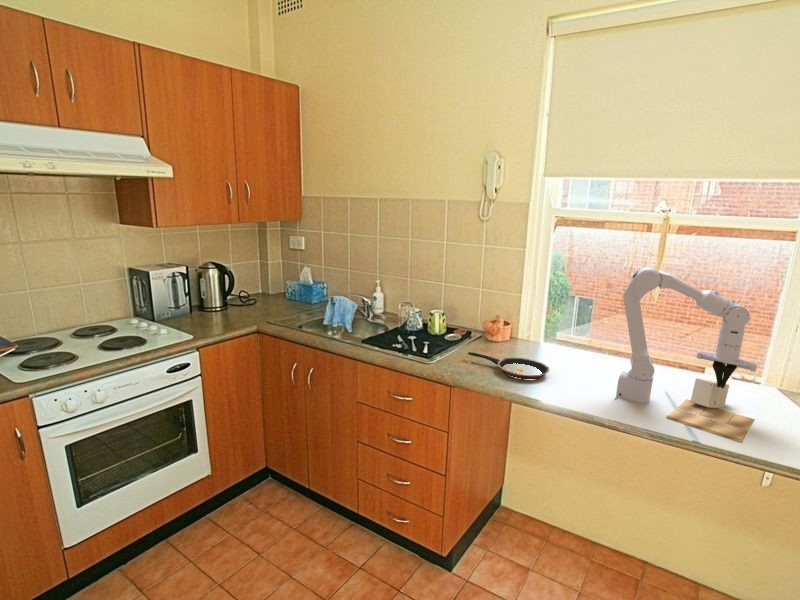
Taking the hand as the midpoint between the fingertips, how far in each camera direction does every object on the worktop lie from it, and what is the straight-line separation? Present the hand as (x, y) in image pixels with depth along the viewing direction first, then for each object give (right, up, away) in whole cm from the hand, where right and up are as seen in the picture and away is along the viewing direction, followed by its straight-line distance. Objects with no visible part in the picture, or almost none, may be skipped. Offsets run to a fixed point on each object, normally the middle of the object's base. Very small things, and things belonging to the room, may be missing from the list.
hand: (720, 386), depth 135 cm
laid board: (-1, -10, +2) cm, 10 cm away
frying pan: (-57, -1, +36) cm, 67 cm away
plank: (-8, -11, -5) cm, 15 cm away
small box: (+6, -4, +10) cm, 12 cm away
